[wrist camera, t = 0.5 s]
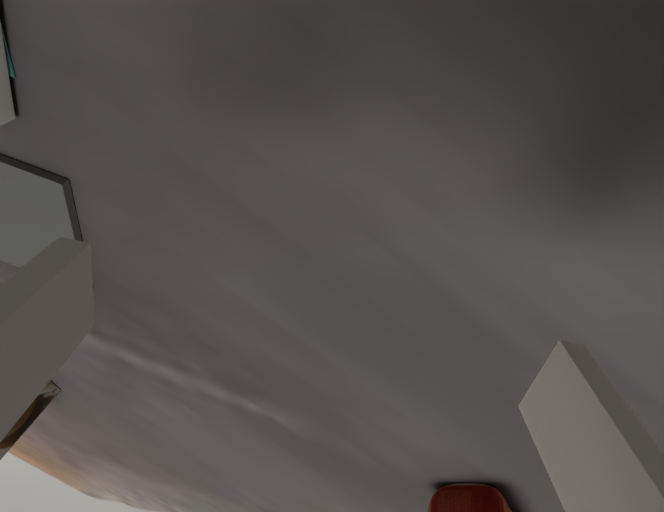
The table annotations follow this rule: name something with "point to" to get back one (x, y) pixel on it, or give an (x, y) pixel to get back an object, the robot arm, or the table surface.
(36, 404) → the coffee box
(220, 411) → the table surface
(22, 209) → the gray slab
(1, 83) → the small box
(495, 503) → the snack package
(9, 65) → the tiles
